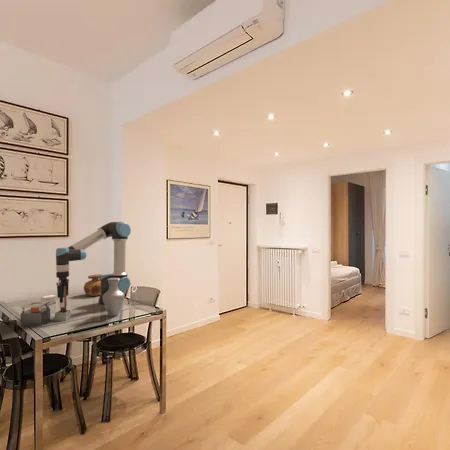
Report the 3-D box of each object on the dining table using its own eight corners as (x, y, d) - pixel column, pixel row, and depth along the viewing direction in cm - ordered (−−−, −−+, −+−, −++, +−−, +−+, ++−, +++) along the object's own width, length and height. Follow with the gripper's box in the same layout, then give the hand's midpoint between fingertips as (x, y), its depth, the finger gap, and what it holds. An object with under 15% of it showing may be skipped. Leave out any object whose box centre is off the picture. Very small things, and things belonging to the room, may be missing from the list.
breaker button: (40, 313, 201) (40, 305, 201) (37, 315, 197) (37, 307, 197) (34, 313, 201) (34, 305, 201) (30, 315, 197) (30, 307, 197)
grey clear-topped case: (50, 320, 205) (50, 301, 205) (40, 326, 193) (40, 305, 193) (31, 320, 204) (31, 301, 205) (20, 326, 193) (20, 306, 193)
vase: (97, 316, 213) (97, 279, 213) (112, 311, 226) (112, 276, 227) (115, 318, 208) (114, 280, 208) (129, 313, 221) (128, 277, 221)
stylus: (67, 315, 210) (66, 285, 210) (65, 316, 207) (64, 286, 207) (62, 315, 210) (61, 285, 210) (59, 317, 206) (59, 286, 206)
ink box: (44, 314, 219) (44, 297, 219) (40, 313, 221) (40, 296, 221) (56, 311, 226) (56, 295, 226) (52, 310, 229) (52, 294, 229)
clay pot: (94, 295, 267) (88, 272, 271) (82, 301, 276) (76, 279, 281) (113, 291, 283) (107, 269, 287) (101, 296, 292) (95, 276, 297)
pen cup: (70, 317, 212) (70, 309, 212) (65, 320, 205) (65, 312, 205) (59, 317, 211) (59, 310, 211) (54, 320, 204) (54, 313, 204)
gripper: (62, 269, 216) (62, 303, 216) (50, 273, 200) (51, 310, 200) (73, 269, 217) (74, 303, 217) (63, 272, 200) (63, 309, 200)
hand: (63, 306), depth 208 cm, fingers closed on stylus, 3 cm apart
